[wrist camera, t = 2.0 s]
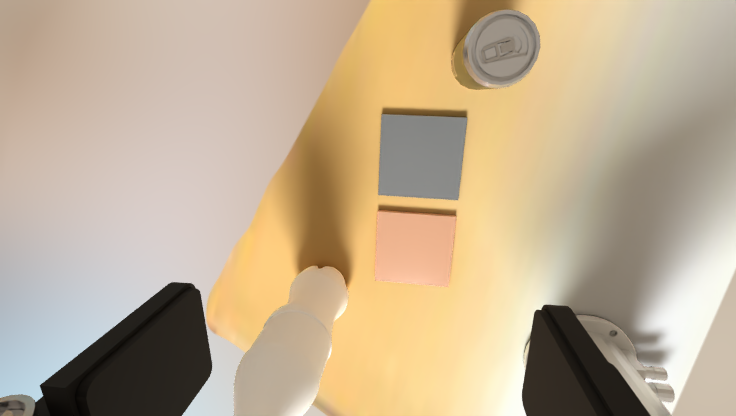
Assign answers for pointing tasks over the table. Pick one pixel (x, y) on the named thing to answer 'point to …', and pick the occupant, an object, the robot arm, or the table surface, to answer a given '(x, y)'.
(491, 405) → the table surface
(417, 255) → the terracotta coaster
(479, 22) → the beer can
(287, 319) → the water bottle
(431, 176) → the slate coaster
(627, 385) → the robot arm
